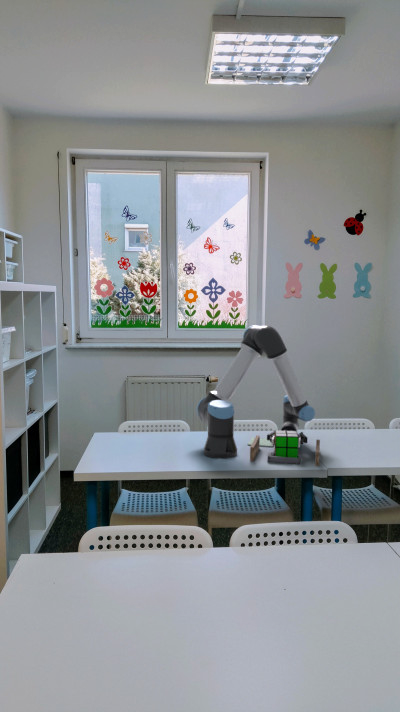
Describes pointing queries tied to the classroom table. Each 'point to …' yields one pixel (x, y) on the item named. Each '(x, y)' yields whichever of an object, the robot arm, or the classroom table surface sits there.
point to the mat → (262, 442)
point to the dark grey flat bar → (284, 459)
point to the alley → (255, 448)
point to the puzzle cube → (286, 444)
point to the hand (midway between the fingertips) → (285, 443)
